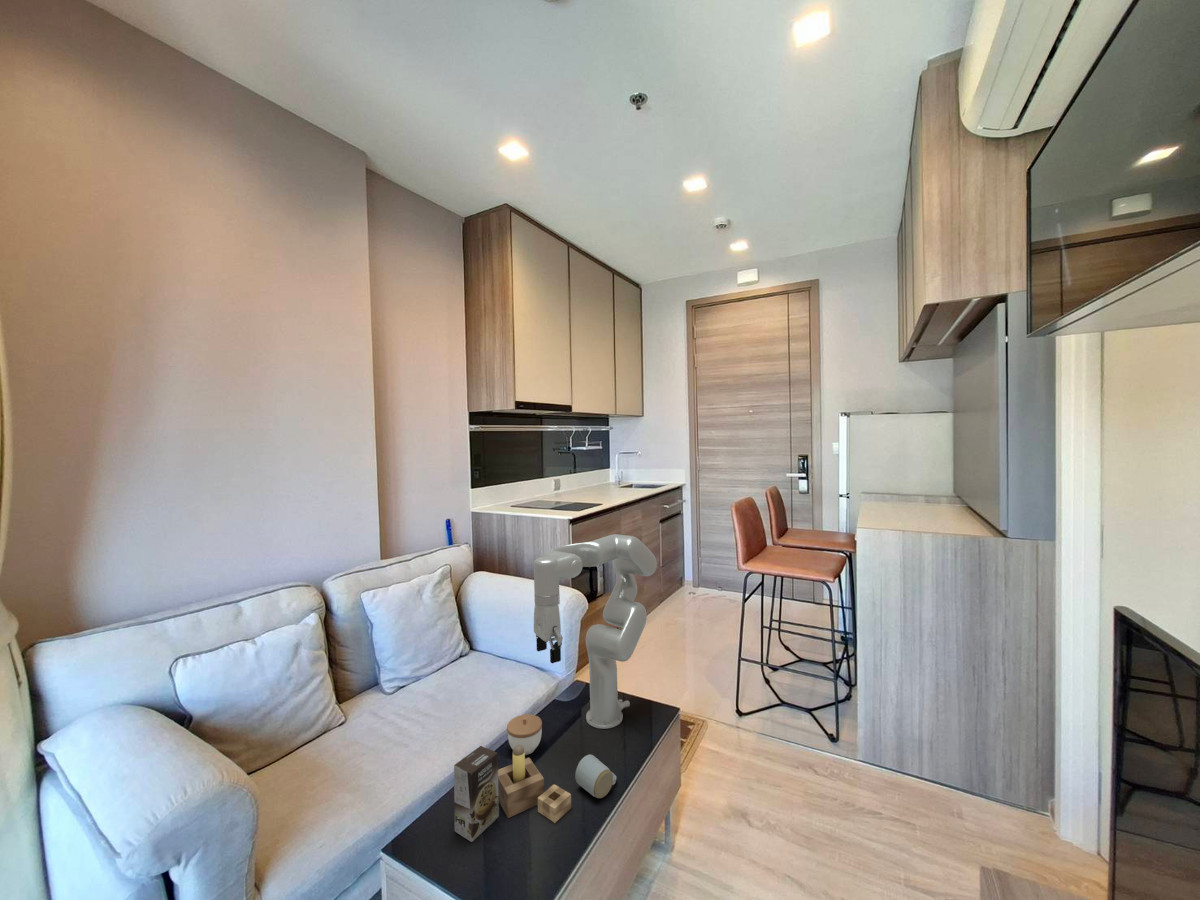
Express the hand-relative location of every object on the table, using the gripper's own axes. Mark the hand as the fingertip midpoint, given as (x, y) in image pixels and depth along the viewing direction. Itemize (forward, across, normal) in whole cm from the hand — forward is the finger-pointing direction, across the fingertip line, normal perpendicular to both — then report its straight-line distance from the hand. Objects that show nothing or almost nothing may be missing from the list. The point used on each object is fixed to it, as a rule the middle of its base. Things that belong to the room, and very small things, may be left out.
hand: (548, 655), depth 137 cm
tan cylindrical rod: (+30, +10, -14) cm, 35 cm away
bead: (+30, +10, -14) cm, 35 cm away
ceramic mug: (+31, +18, +5) cm, 36 cm away
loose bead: (+30, +19, -8) cm, 37 cm away
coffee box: (+31, +12, -26) cm, 42 cm away
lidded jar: (+31, -8, -5) cm, 32 cm away
